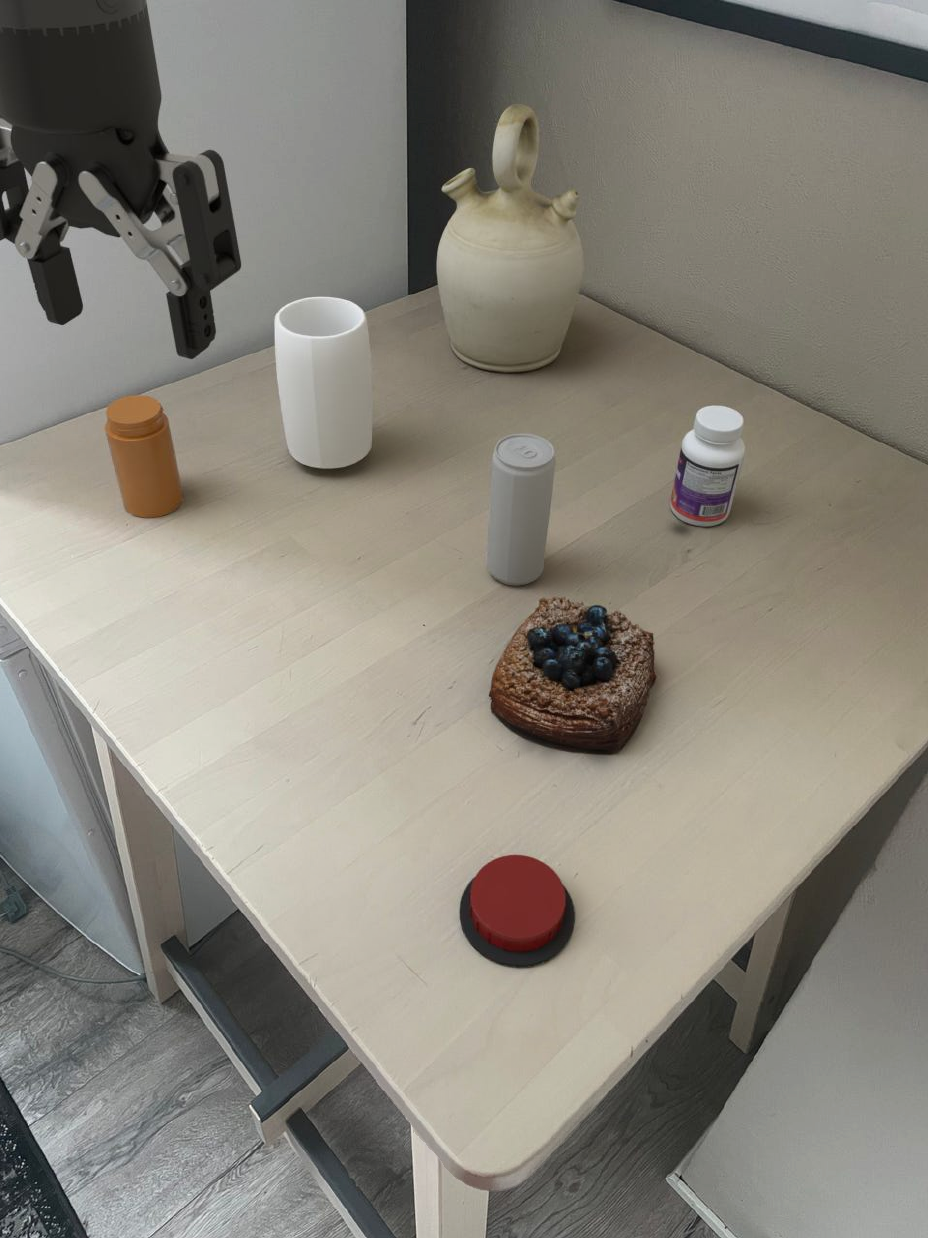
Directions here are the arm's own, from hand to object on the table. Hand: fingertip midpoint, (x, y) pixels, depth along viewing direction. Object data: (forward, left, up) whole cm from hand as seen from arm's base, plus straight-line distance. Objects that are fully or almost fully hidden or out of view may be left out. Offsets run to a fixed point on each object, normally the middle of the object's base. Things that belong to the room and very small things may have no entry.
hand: (129, 334), depth 56 cm
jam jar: (+17, +17, -28) cm, 37 cm away
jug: (+57, -1, -28) cm, 64 cm away
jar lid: (-8, -28, -26) cm, 39 cm away
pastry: (+11, -25, -28) cm, 39 cm away
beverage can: (+22, -16, -28) cm, 39 cm away
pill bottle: (+37, -28, -28) cm, 54 cm away
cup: (+30, +6, -28) cm, 42 cm away
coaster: (-8, -28, -28) cm, 40 cm away
